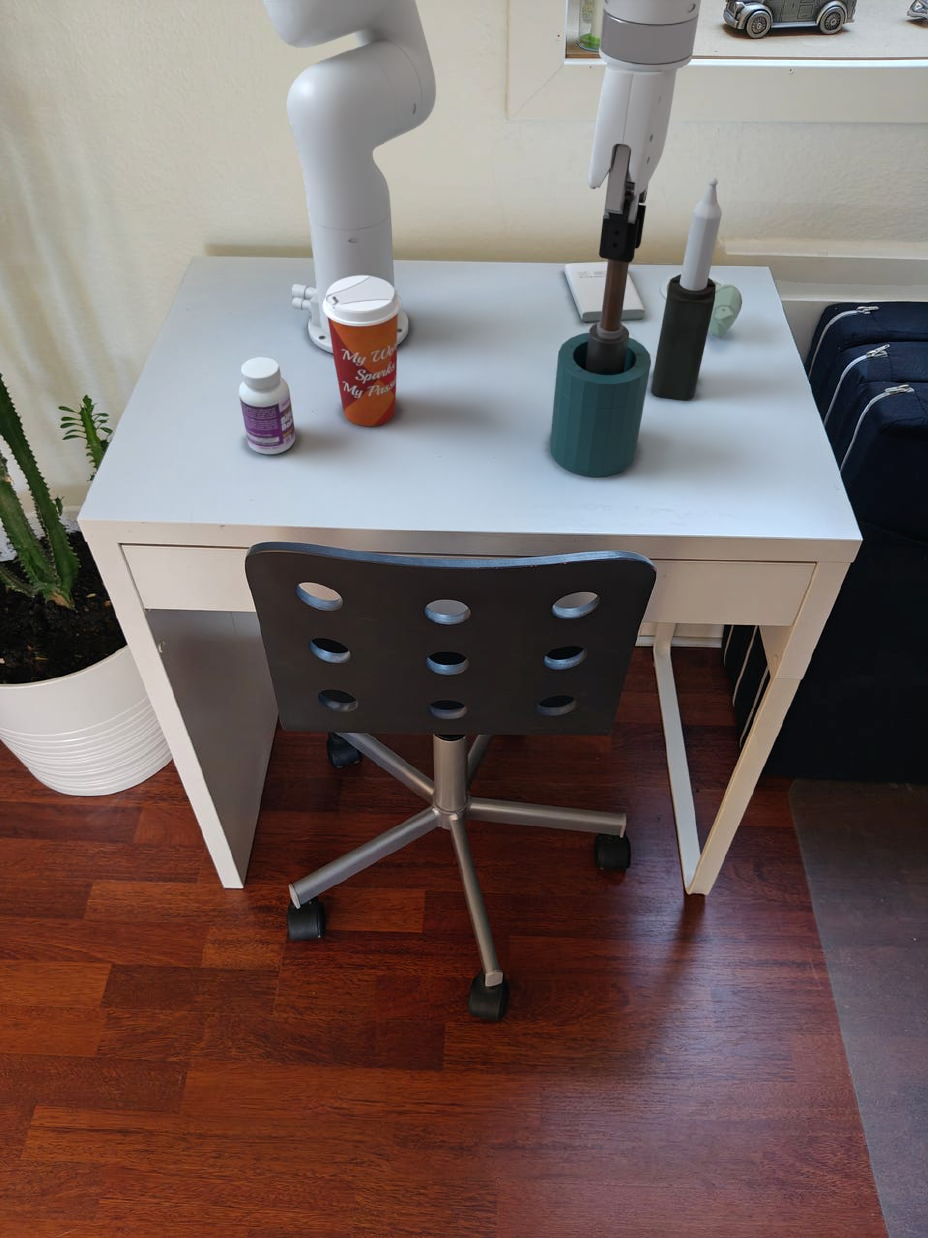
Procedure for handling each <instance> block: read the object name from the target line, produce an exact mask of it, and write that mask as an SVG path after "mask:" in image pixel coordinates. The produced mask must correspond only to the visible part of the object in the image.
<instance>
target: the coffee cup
mask: <svg viewBox="0 0 928 1238" xmlns="http://www.w3.org/2000/svg"><path fill="white" fill-rule="evenodd" d="M400 296H401V295H399V293H398V290H396V288H395V286H394V287H392V285H391V284H390V283H388V282H387V281H385V280H383V279H380V278H377V277H373V276H365V275H360V276H351V277H347V278H343V279H341V280H338V281H337V282H335V283H333V284H332V285H331V286H330V287H329V289H328V291H327V293H326V298H325V300H324V302H323V310H324V312H325V314H326V315H327V317H328V323H329V329H330V335H331V342H332V349H333V353H332V356H333V363H334V368H335V371H336V372H335V373H336V377H337V383H338V388H339V395H340V400H341V405H342V406H341V407H342V410H343V414H344V416H345V418H346V419H347V420H348V421H349V422H350V423H352V424H354V425H357V426H361V427H375V426H376V427H377V426H380V425H384V424H385V423H387V422H389V421H390V420H391V419H392V418H393V417H394V415H395V413H396V401H397V371H398V370H397V369H398V367H397V365H398V345H397V322H398V312H399V310H400V308H401V307H402V302H401V301H402V298H401V297H400Z"/></svg>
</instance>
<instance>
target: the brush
mask: <svg viewBox="0 0 928 1238" xmlns="http://www.w3.org/2000/svg"><path fill="white" fill-rule="evenodd" d="M624 198H625V199H629V202H630V201H631V196H628V195H624ZM607 262H608V265H607V273H606V281H605V289H604V297H603V306H602V314H601V321H600V322H595V323H594V324H593V325H592V326H591V327H590V328H589V330H588V331H589V332H588V333H589V339H588V348H587V356H586V365H585V370H586V371H588V372H590V373H594V374H599V375H617V374H622V373H624V368H625V361H626V354H627V347H628V340H629V338H630V330H629V329H628V328H627V327H626V326H625V325H623V323H622V320H621V318H622V311H623V303H624V296H625V289H626V282H627V275H628V273H629V266H630V263H627V262H621V261H616V260H610V259H607Z"/></svg>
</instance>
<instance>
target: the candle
mask: <svg viewBox="0 0 928 1238" xmlns="http://www.w3.org/2000/svg"><path fill="white" fill-rule="evenodd" d="M718 183H719V182H718V179H717V178H716V177H712V178H710V179H709V181H708V184H709V185H708V187H707V188H706V191H705V193H704V195H703V197H702V199H701V200H700V201H699V202H698V203H697V204H696V205H695V206H694V208H693V209H692V210H693V211H692V213H691V214H692V216H691V220H690V226H689V231H688V237H687V240H686V241H687V242H686V248H685V252H684V256H683V257H684V258H683V263H682V268H681V273H679V274H677V275H675V276H674V277H672V278H670V280H669V282H668V289H667V293H666V299H665V304H664V310H663V316H662V322H661V327H660V331H659V332H660V333H659V338H658V344H657V349H656V356H655V361H654V368H653V372H652V381H651V387H650V393H651V394H652V395H653V396H655V397H656V398H662V399H663V398H664V399H669V400H670V399H671V400H677V401H678V400H679V401H690V400H692V399H693V398H694V397H695V393H696V389H697V385H698V379H699V375H700V370H701V365H702V361H703V357H704V352H705V347H706V343H707V338H708V333H709V325H710V320H711V315H712V311H713V306H714V302H715V292H716V285H715V284H716V283H715V282H714V281H713V280H712V279H711V278H710V272H711V268H712V262H713V258H714V252H715V248H716V243H717V238H718V235H719V234H718V233H719V230H720V224H721V219H722V215H723V214H722V213H723V212H722V208H721V207H720V204H719V202H718V194H717V185H718Z"/></svg>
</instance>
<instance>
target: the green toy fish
mask: <svg viewBox="0 0 928 1238" xmlns="http://www.w3.org/2000/svg"><path fill="white" fill-rule="evenodd" d="M715 285H716V292H715V302H714V306H713V311H712V315H711V320H710V325H709V329H708V332H710V334H711V335H712V336H713V337H721V336H723V335H724V334H726V333H727V332H728V331H729V330H730V329H731V327H732V326H733V325H734V323H735V322H736V320H737V318H738V317H739V314H740V312H741V309H742V305H743V299H742V297H743V296H742V294H741V292H740V290H739V288H737V287H736V286H735V285H733V284H726V283H725V284H721V283H718V284H717V283H715Z"/></svg>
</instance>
